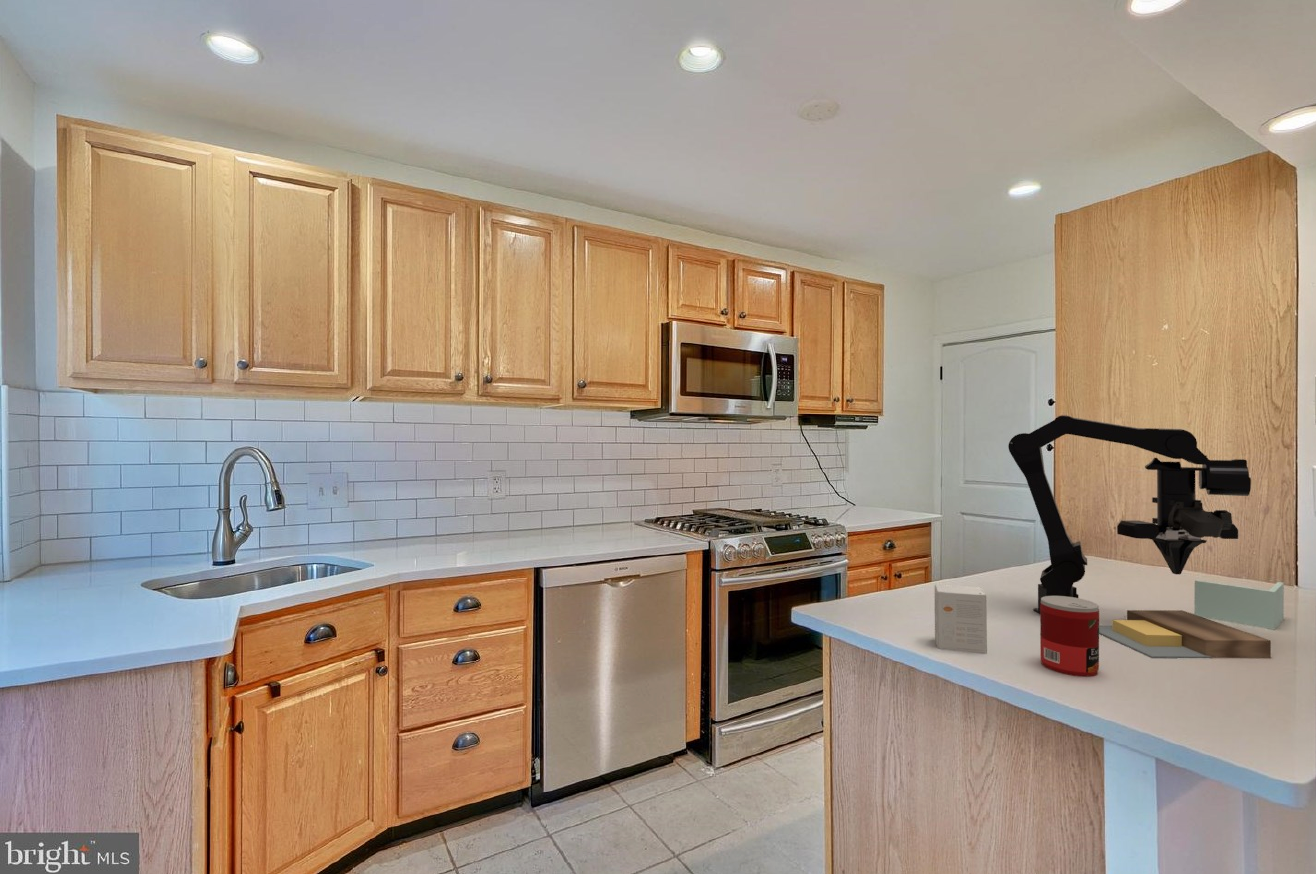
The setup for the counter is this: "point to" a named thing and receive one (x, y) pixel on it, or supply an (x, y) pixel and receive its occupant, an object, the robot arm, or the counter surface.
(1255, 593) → the right angle wall
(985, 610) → the small box
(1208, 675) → the counter surface
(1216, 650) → the brown flat block
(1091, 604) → the canned food
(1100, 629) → the mat
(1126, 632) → the yellow flat block
